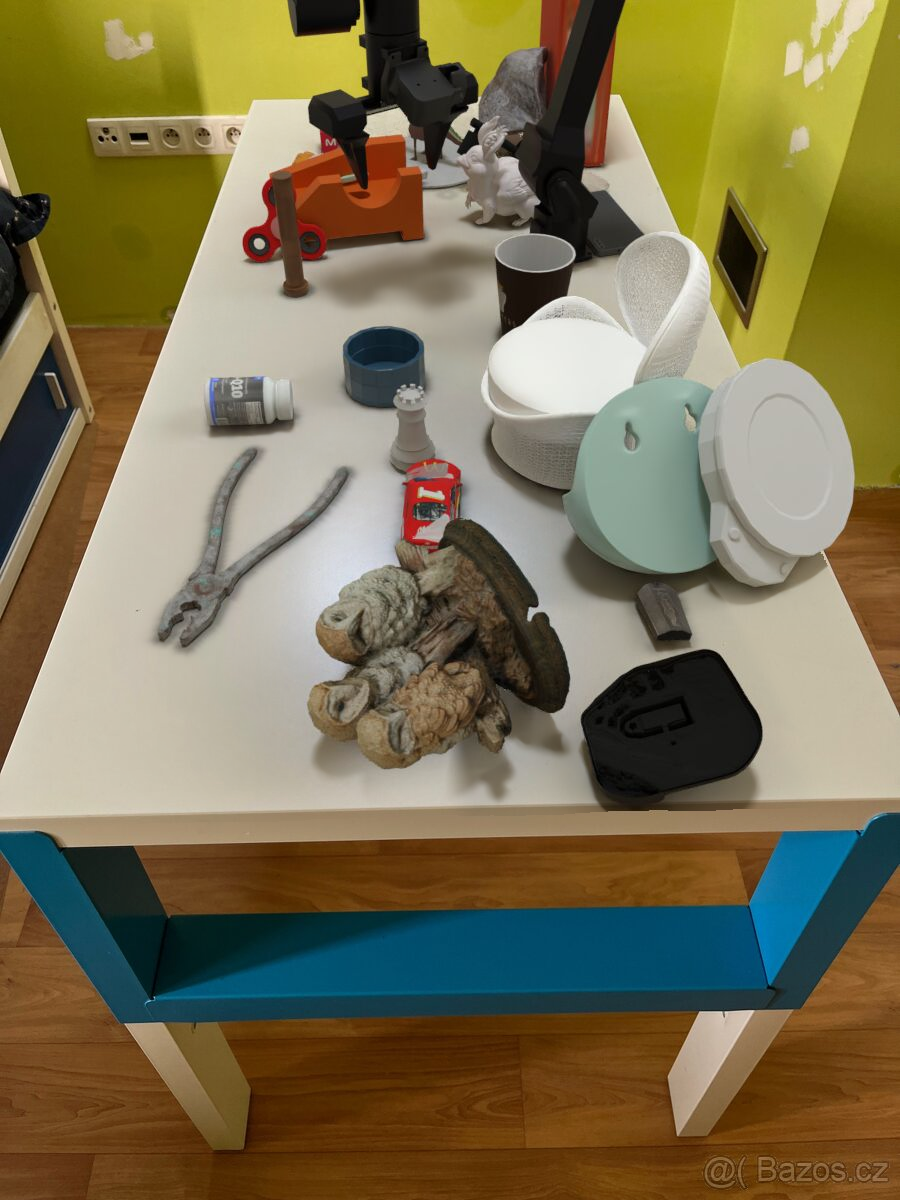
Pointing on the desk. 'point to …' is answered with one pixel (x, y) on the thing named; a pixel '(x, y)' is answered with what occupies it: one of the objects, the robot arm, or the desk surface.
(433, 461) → the race car
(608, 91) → the file binder
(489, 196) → the figurine
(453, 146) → the dinosaur
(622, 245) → the smartphone
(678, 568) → the planter
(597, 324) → the chair
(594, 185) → the stone
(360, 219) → the tape dispenser
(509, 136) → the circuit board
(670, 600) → the block
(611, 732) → the black plastic housing
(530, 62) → the fossil
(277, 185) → the brown rod with base
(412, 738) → the owl figurine
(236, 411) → the pill bottle
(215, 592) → the pliers
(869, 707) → the desk surface
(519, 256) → the coffee mug
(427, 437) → the rook chess piece
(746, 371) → the lid
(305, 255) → the toy
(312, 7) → the robot arm
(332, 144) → the red letter cube
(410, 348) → the bowl
